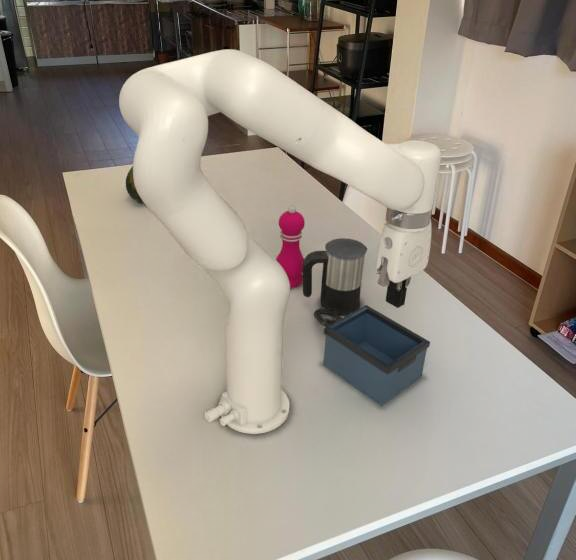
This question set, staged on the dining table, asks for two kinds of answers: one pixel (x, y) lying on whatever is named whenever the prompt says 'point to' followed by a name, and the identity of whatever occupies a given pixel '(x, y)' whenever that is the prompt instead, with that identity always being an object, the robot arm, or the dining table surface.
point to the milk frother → (336, 277)
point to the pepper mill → (291, 245)
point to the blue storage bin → (374, 353)
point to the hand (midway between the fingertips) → (394, 303)
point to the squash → (132, 186)
